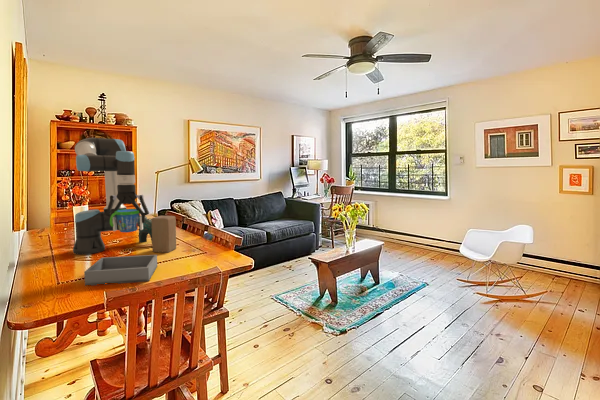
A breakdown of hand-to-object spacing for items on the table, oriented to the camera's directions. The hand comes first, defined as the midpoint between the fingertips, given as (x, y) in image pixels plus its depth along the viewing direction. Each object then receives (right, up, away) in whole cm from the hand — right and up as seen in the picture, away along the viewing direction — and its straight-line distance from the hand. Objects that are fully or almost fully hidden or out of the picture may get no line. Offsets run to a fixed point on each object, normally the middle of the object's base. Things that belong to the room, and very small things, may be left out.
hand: (128, 230), depth 147 cm
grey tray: (+3, -20, -8) cm, 21 cm away
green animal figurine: (-14, -13, +48) cm, 52 cm away
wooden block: (+3, -15, +33) cm, 37 cm away
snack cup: (0, -1, 0) cm, 1 cm away
